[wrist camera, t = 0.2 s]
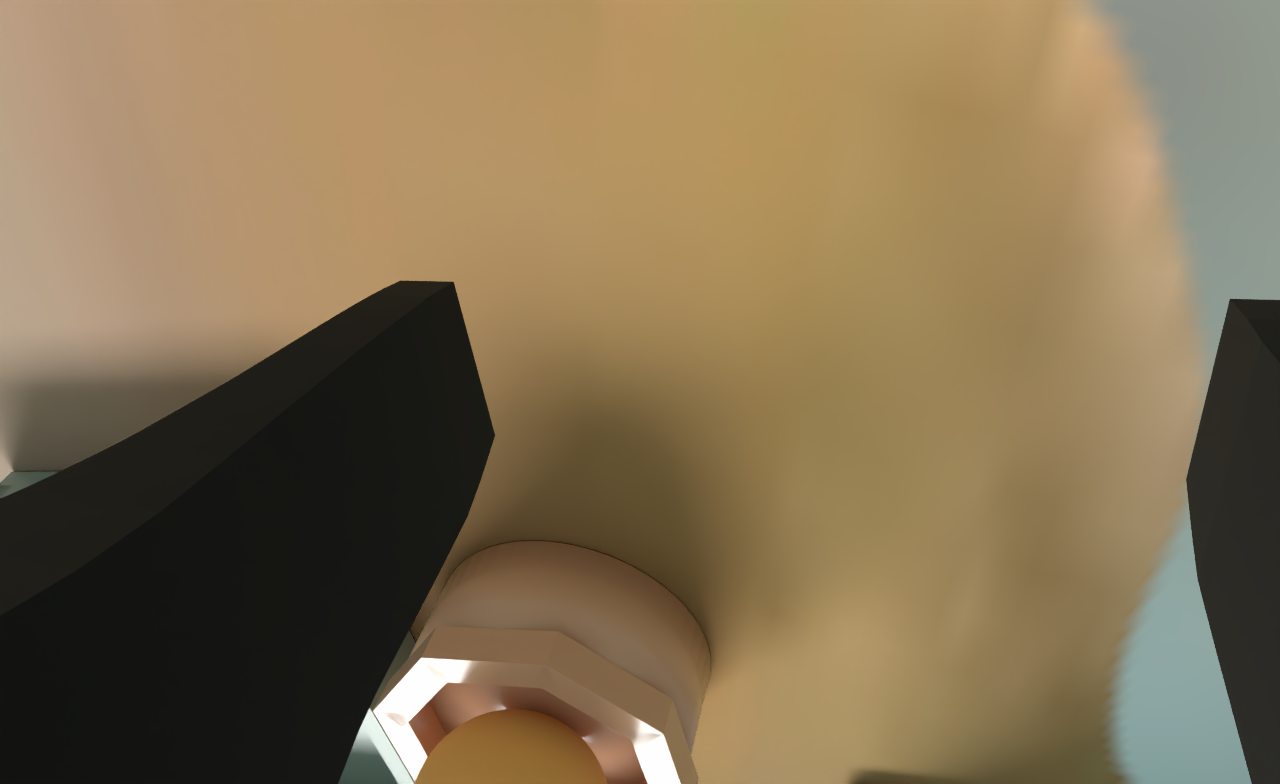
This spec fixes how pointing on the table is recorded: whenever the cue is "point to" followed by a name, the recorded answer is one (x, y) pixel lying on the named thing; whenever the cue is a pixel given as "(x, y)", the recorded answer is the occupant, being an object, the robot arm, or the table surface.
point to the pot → (557, 660)
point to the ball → (512, 752)
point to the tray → (373, 765)
